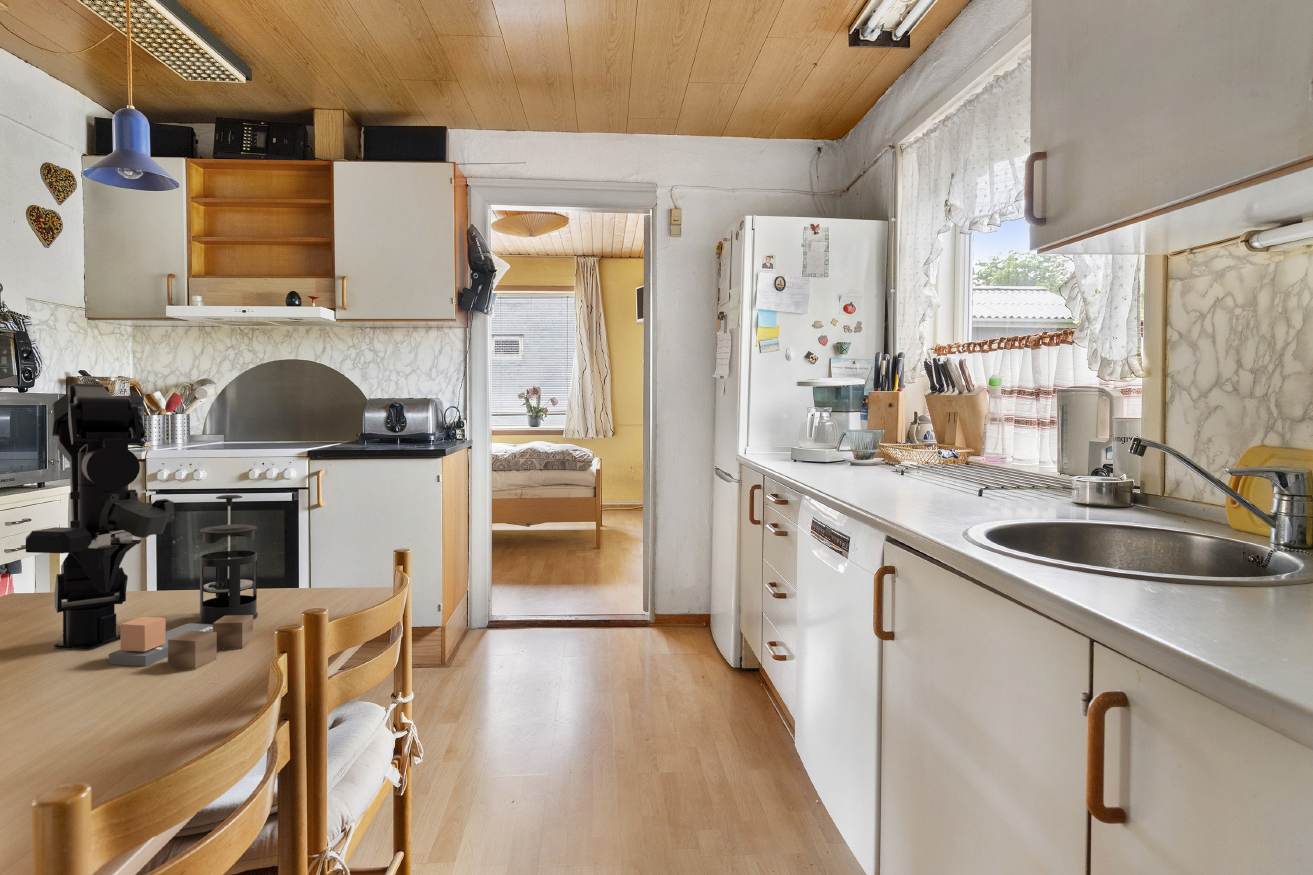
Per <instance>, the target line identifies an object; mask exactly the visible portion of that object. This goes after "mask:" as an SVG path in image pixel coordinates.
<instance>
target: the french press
mask: <svg viewBox="0 0 1313 875" xmlns="http://www.w3.org/2000/svg"><path fill="white" fill-rule="evenodd" d="M242 498H243V496H242V495H239V494H223V495H219V496H216V497H215V499H216V500H225V503H226V504H225V505H226V507H227V524H221V525H216V526H207V527H203V528H202V529H200V530H199V532H200V533H201V534H202V542H203V543H204V544H210V545H212V544H216V543H218V542H219V541H220V540H222V539H223V538H227V550H226V549H225V550H217V551H212V552H208V553H204V554H201V555H200V556H199V561H200V562H199V568H200V570H199V619H198V624H212V625H213V623H214V622H216V621H217V620H219V619H220V618H222V617H223V616H229V615H253V621H254V620H256V619H257V618H258V616H259V613H258V611H257V609H258V608H257V607H258V605H257V602H258V601H257V599H258V598H257V592H258V591H257V584H258V583H257V582H258V580H257V578H258V573H257V572H258V570H257V569H258V553H257V551H255V550H247V549H243V550H242V549H235V550H234V549H233V550H232V549H231V537H245V538H247V539H248V540H251V541H253V540H255V531H256V530H258V526H256V525H251V524H237V523H236V524H234V523H232V524H231V507H233V500H235V499H236V500H237V499H242ZM252 563H253V564H252ZM248 564H252V565H253V567H252V572H253V573H252V576H253V577H252V578H253V580H251V579H241V566H243V565H248ZM204 567H208V568H210V567H211V568H212V567H213V568H215V581H213V582H212V581H211V582H209V583H206V584H204ZM252 588H253V589H252ZM251 589H252V590H253V592H252V595H245V594H241V592H243V591H247V590H251ZM204 593H208V594H215V597H213V598H208V599H206V600H204Z"/></svg>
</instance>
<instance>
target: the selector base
mask: <svg viewBox="0 0 1313 875" xmlns="http://www.w3.org/2000/svg"><path fill="white" fill-rule="evenodd" d="M188 631H204V632H213V625H212V624H199V623H193V622H192V623H191V622H190V623H189V622H188V623H186V624H183V625H180V626H178V627H176V628H173V629H170V630H167V631H166V642H165V644H162V645H160V646H157V647H155V648H152V649H150V650H147V651H145V652H144V651H126V650H121V648H120V649H118V650H116V651H113V652H111V653H108V664H109V665H122V666H123V665H125V666H126V665H127V666H137V667H138V666H142V667H145V666H146V667H147V666H148V665H151V664H153V663H156V662H158V661H160V660H163V659H165V658H168V639H171V638H173V637H176V636H178V635H181V634H183V633H186V632H188Z"/></svg>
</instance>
